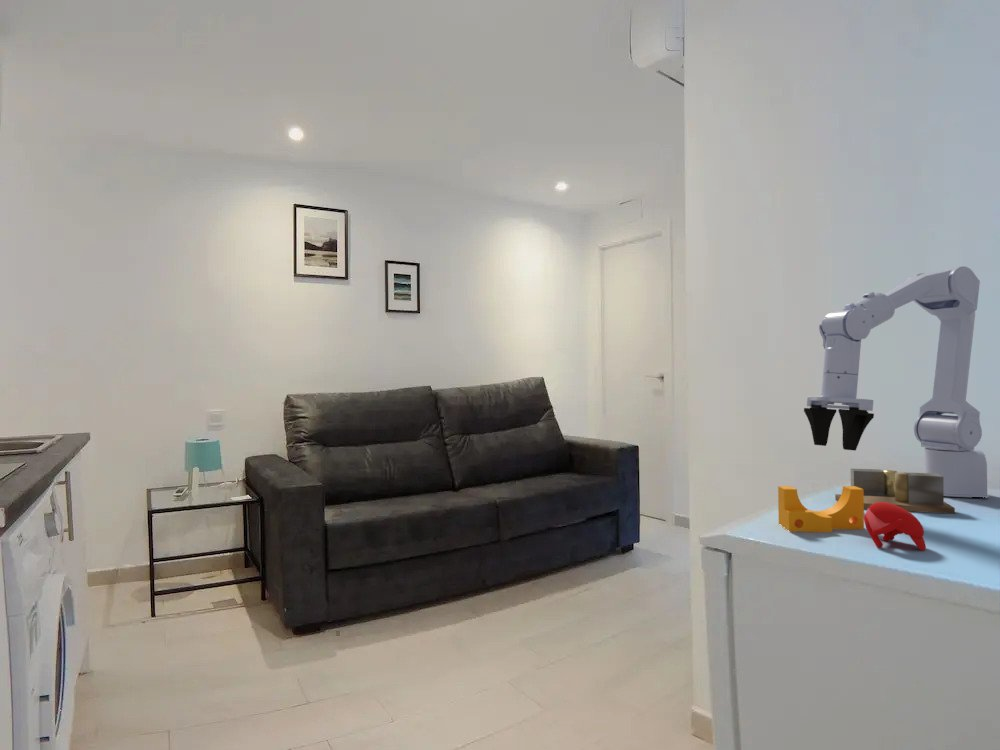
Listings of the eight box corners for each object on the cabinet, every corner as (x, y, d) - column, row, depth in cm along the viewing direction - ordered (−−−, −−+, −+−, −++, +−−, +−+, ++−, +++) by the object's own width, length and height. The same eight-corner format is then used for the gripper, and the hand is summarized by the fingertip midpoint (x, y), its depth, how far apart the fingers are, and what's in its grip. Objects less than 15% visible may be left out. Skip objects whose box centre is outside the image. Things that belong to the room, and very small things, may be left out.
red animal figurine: (853, 523, 86) (894, 507, 82) (858, 502, 91) (897, 486, 87) (891, 569, 85) (935, 555, 81) (895, 545, 90) (936, 531, 86)
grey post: (894, 495, 118) (894, 470, 118) (899, 498, 116) (898, 472, 115) (850, 493, 121) (850, 468, 121) (854, 496, 118) (853, 470, 118)
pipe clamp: (788, 532, 94) (788, 491, 94) (778, 525, 98) (778, 486, 98) (869, 533, 93) (869, 491, 93) (855, 526, 97) (855, 486, 97)
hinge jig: (940, 504, 110) (940, 472, 110) (954, 513, 103) (954, 478, 103) (835, 499, 116) (834, 468, 116) (842, 507, 109) (842, 474, 109)
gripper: (795, 372, 118) (789, 441, 118) (850, 372, 104) (843, 450, 104) (827, 376, 120) (821, 444, 119) (886, 376, 105) (879, 453, 105)
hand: (834, 447), depth 112 cm, fingers open, 7 cm apart
